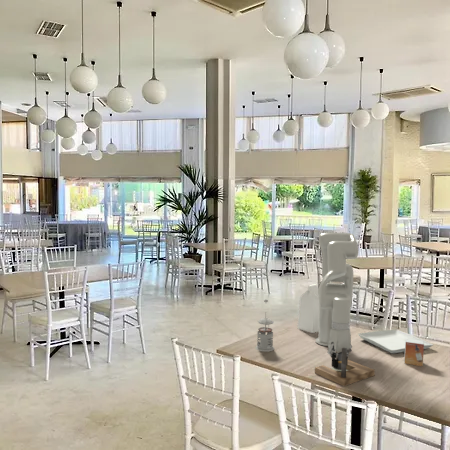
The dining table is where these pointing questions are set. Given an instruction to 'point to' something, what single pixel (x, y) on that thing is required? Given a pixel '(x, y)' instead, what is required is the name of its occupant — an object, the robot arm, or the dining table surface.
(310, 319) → the milk
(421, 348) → the small box
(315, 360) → the dining table surface
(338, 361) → the grey cylinder
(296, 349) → the dining table surface
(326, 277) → the robot arm
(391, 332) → the square plate
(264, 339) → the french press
